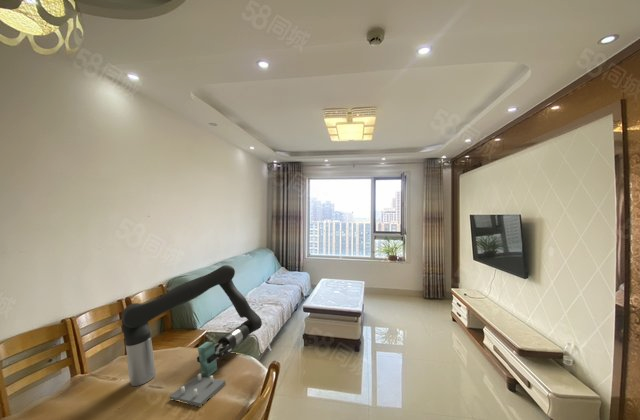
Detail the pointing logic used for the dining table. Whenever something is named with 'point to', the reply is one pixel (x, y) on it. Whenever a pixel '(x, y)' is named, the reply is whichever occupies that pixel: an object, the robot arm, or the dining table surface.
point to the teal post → (205, 353)
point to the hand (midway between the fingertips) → (202, 360)
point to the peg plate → (198, 390)
